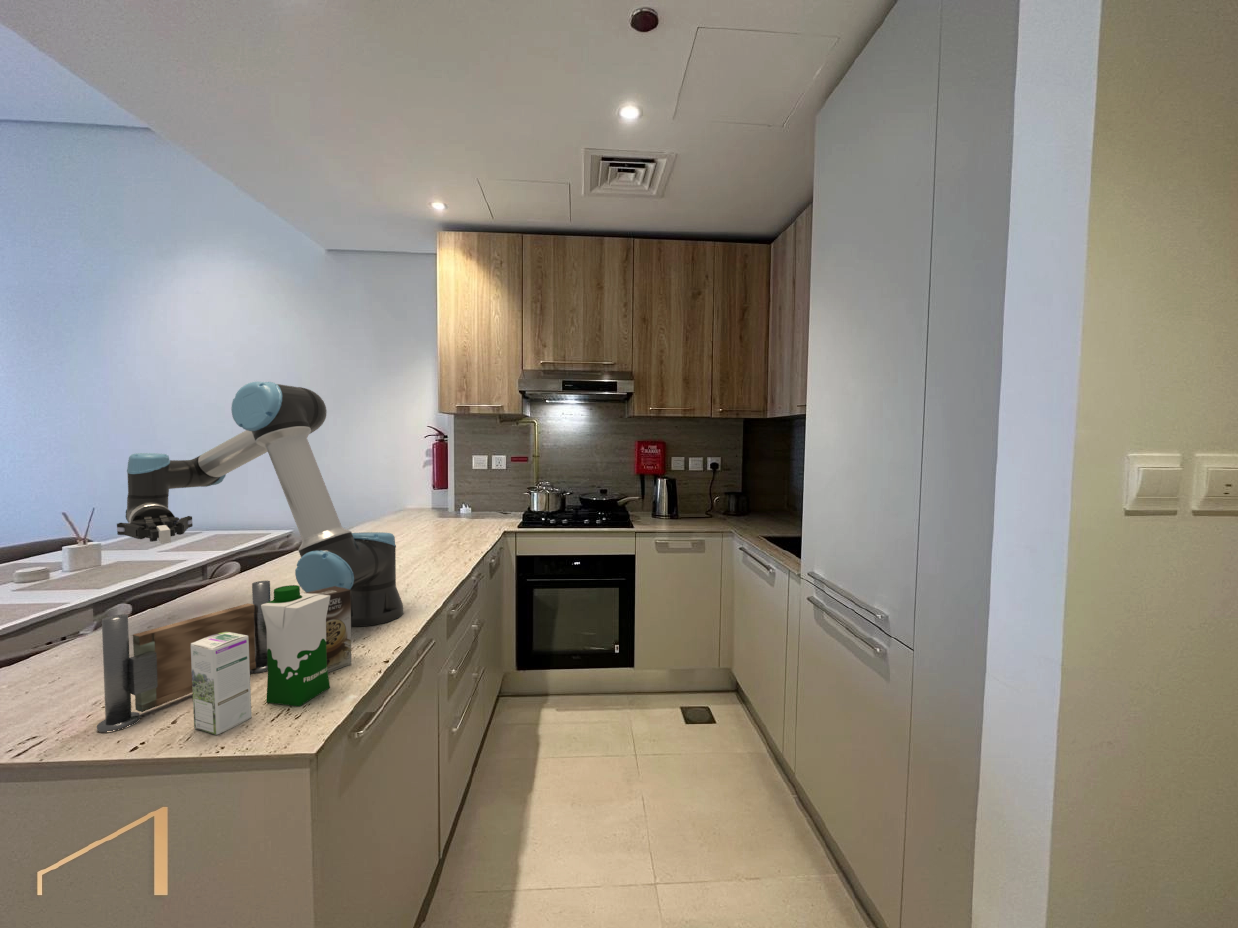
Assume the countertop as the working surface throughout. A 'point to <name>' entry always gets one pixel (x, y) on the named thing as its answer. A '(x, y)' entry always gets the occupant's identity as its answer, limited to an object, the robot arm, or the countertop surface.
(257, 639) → the hinge post
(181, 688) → the gate
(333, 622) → the brown cookie box
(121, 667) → the latch post
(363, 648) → the countertop surface
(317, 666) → the milk carton
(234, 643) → the syrup box
